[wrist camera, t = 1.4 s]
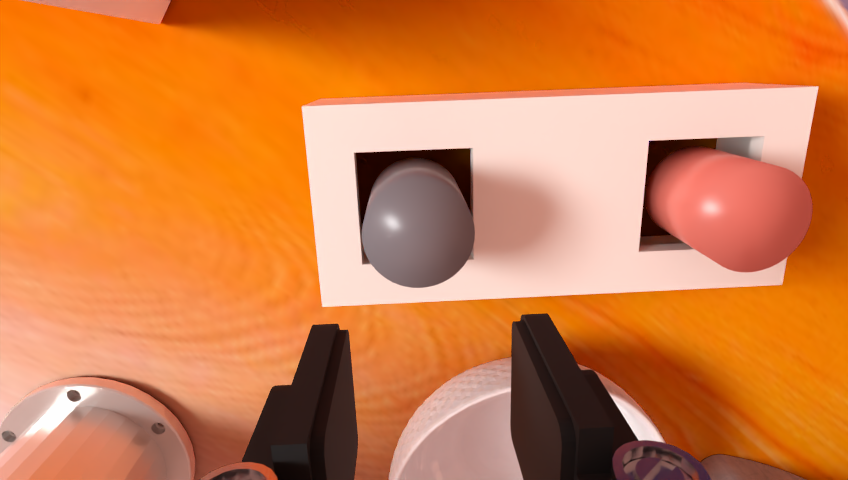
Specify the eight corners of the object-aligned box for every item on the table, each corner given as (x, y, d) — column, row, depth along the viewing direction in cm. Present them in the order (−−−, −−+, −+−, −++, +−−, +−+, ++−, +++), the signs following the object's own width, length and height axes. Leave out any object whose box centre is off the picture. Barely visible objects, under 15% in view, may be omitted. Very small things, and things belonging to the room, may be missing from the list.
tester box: (718, 248, 34) (782, 284, 28) (335, 265, 33) (322, 306, 28) (741, 82, 31) (818, 86, 25) (320, 98, 30) (301, 106, 25)
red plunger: (727, 232, 28) (801, 269, 23) (640, 236, 28) (695, 275, 23) (740, 144, 27) (822, 162, 22) (649, 147, 27) (709, 167, 22)
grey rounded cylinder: (461, 244, 28) (475, 285, 23) (372, 248, 28) (365, 290, 23) (460, 155, 26) (474, 177, 21) (366, 159, 26) (357, 182, 21)
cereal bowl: (495, 563, 41) (514, 660, 34) (338, 433, 37) (324, 514, 30) (676, 431, 38) (734, 508, 31) (526, 273, 34) (557, 323, 27)
